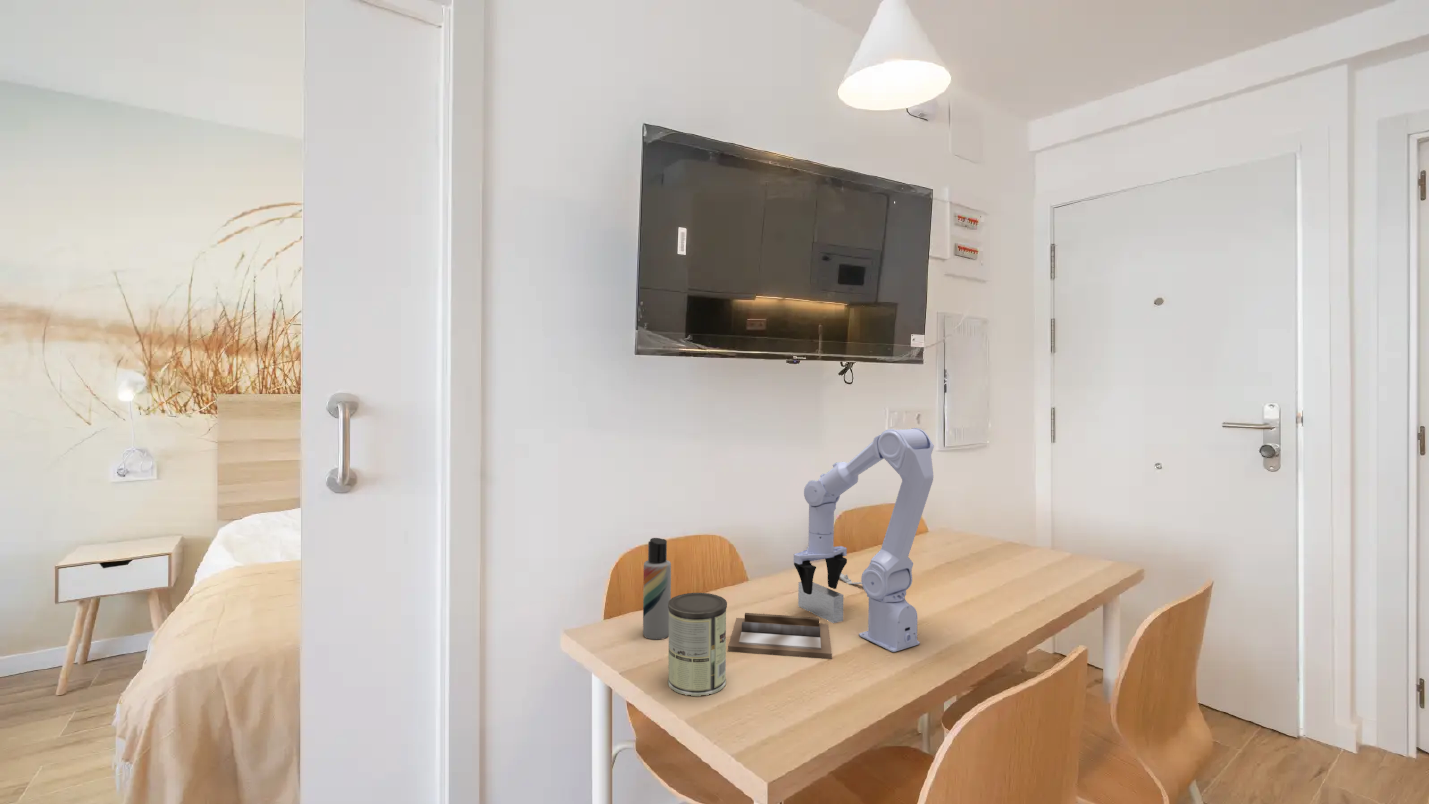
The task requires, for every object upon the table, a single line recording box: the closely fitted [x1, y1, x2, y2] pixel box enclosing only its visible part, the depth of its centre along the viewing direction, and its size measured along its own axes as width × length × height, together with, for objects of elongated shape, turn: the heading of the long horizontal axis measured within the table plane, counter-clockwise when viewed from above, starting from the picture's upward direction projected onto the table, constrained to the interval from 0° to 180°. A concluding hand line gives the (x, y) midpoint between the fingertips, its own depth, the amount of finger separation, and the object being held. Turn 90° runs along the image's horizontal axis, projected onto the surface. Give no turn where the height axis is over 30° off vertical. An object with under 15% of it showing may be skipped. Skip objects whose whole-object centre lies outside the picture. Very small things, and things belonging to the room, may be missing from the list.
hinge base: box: [727, 612, 833, 660], centre depth 122 cm, size 20×15×3 cm
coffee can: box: [667, 592, 728, 697], centre depth 104 cm, size 10×10×14 cm
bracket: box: [839, 572, 862, 585], centre depth 159 cm, size 2×6×15 cm
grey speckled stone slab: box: [797, 581, 844, 624], centre depth 137 cm, size 12×3×6 cm, turn 32°
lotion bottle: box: [642, 537, 672, 640], centre depth 124 cm, size 6×6×20 cm
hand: (820, 590), depth 137 cm, fingers open, 7 cm apart
